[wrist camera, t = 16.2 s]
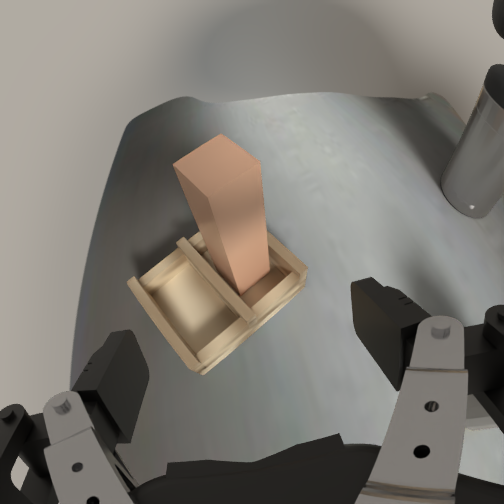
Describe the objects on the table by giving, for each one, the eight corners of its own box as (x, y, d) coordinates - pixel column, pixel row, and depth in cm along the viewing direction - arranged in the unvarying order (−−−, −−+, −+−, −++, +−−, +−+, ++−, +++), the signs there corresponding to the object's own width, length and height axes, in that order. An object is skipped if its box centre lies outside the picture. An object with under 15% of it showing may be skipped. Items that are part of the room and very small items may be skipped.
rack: (237, 225, 38) (232, 199, 33) (304, 287, 33) (307, 267, 29) (144, 299, 34) (126, 282, 30) (203, 375, 30) (189, 369, 25)
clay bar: (245, 247, 34) (221, 133, 20) (269, 271, 33) (260, 161, 19) (216, 270, 33) (172, 164, 19) (240, 296, 32) (207, 197, 18)
